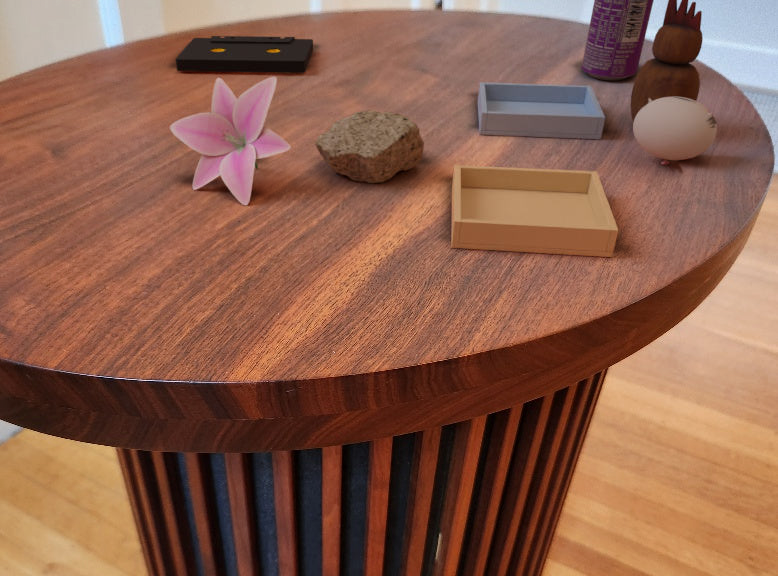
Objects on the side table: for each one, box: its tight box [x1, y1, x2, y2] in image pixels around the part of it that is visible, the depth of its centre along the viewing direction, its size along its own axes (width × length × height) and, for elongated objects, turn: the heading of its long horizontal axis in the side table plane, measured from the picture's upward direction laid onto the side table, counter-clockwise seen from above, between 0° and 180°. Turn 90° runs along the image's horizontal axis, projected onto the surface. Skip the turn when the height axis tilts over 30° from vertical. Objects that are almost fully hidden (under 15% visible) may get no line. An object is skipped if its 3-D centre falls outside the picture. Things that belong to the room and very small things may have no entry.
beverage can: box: [581, 0, 655, 81], centre depth 101 cm, size 7×7×12 cm
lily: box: [169, 76, 292, 206], centre depth 75 cm, size 12×12×10 cm
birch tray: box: [450, 164, 619, 258], centre depth 69 cm, size 13×12×2 cm
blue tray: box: [477, 81, 606, 140], centre depth 90 cm, size 13×11×2 cm
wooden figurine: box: [630, 0, 703, 124], centre depth 83 cm, size 7×6×15 cm
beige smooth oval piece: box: [632, 96, 718, 166], centre depth 78 cm, size 8×6×7 cm
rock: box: [314, 110, 425, 184], centre depth 77 cm, size 10×8×8 cm
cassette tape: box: [175, 35, 314, 74], centre depth 111 cm, size 18×12×2 cm, turn 84°
